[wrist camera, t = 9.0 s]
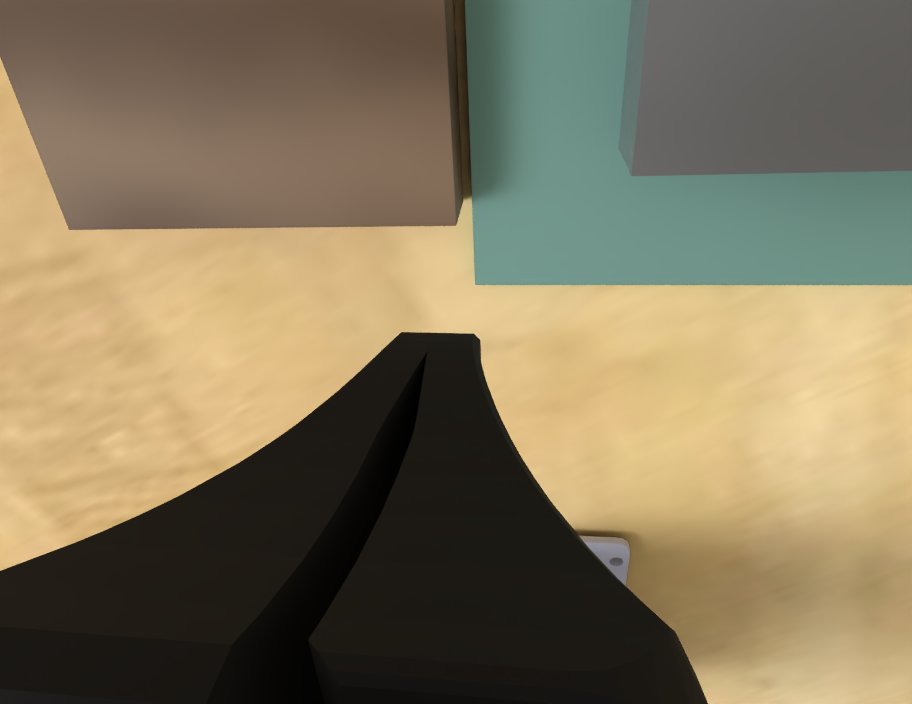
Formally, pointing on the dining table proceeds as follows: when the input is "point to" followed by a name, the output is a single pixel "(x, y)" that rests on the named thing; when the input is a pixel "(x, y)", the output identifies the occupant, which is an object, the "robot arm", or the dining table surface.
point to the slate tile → (767, 87)
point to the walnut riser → (241, 110)
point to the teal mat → (640, 177)
